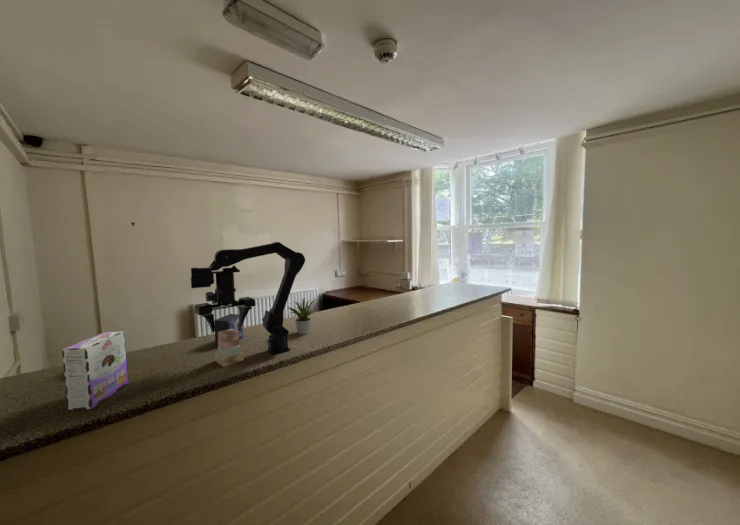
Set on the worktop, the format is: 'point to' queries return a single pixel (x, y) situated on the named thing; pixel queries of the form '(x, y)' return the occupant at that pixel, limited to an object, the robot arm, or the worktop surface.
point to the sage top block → (229, 351)
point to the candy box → (95, 369)
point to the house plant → (302, 317)
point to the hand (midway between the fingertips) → (227, 329)
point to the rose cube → (228, 338)
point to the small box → (227, 325)
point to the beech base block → (228, 359)
